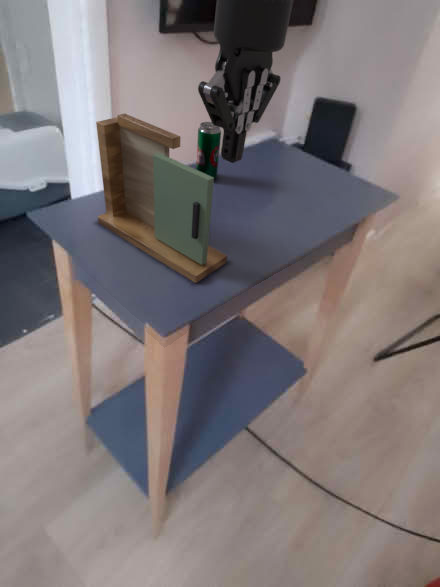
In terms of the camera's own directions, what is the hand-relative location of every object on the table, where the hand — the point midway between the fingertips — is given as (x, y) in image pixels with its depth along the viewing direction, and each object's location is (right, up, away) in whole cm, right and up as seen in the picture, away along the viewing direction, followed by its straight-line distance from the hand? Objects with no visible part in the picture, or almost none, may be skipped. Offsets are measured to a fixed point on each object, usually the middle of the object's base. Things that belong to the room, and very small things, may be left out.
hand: (231, 159), depth 50 cm
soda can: (-5, +10, +43) cm, 44 cm away
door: (-8, -10, +17) cm, 21 cm away
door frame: (-12, -8, +21) cm, 25 cm away
